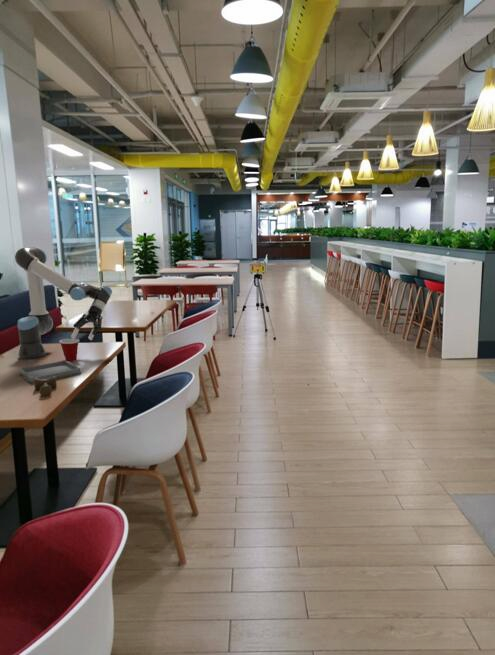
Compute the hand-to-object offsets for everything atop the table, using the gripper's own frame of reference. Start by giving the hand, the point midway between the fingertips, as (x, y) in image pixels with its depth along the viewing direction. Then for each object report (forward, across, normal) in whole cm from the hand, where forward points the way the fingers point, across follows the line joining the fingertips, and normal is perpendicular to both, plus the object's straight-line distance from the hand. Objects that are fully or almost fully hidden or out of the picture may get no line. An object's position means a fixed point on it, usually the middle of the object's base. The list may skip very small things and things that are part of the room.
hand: (81, 338), depth 292 cm
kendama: (+46, -31, +30) cm, 63 cm away
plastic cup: (+14, +1, -3) cm, 14 cm away
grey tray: (+31, -10, +16) cm, 36 cm away
